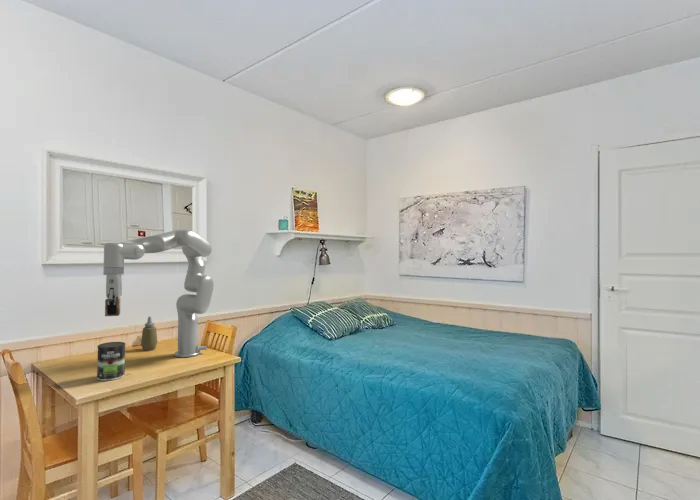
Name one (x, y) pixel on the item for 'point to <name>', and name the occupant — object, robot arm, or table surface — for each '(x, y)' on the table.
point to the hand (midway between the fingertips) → (112, 312)
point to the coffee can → (111, 361)
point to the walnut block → (116, 307)
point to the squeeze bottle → (149, 336)
